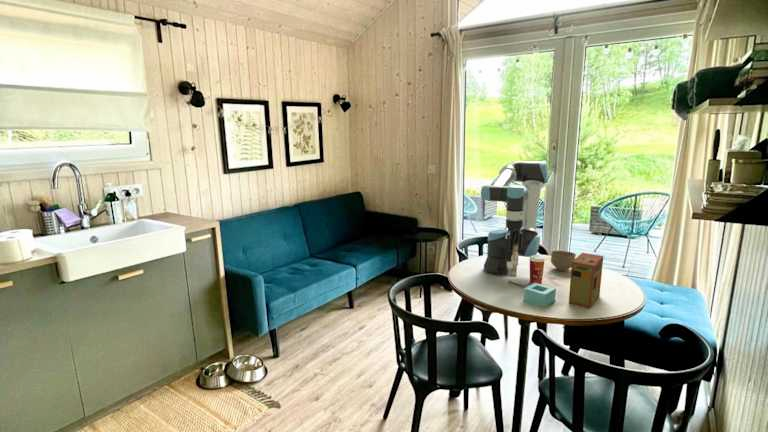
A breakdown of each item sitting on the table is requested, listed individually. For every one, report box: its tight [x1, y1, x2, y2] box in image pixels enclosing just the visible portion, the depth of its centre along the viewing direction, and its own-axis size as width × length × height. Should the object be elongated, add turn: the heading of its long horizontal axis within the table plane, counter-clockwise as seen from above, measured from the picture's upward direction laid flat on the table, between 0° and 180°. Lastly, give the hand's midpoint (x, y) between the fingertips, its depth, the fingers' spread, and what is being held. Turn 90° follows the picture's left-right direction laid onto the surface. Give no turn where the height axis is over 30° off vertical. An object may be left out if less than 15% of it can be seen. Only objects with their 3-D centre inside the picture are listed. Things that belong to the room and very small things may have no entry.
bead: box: [523, 283, 557, 308], centre depth 187 cm, size 10×10×6 cm
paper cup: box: [528, 254, 546, 285], centre depth 207 cm, size 8×8×14 cm
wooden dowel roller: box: [507, 243, 518, 278], centre depth 194 cm, size 4×4×16 cm
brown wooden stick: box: [507, 280, 529, 288], centre depth 206 cm, size 10×1×1 cm, turn 41°
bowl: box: [550, 250, 577, 272], centre depth 226 cm, size 13×13×10 cm
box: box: [568, 252, 604, 310], centre depth 184 cm, size 17×9×20 cm, turn 140°
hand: (512, 266), depth 195 cm, fingers closed on wooden dowel roller, 4 cm apart
